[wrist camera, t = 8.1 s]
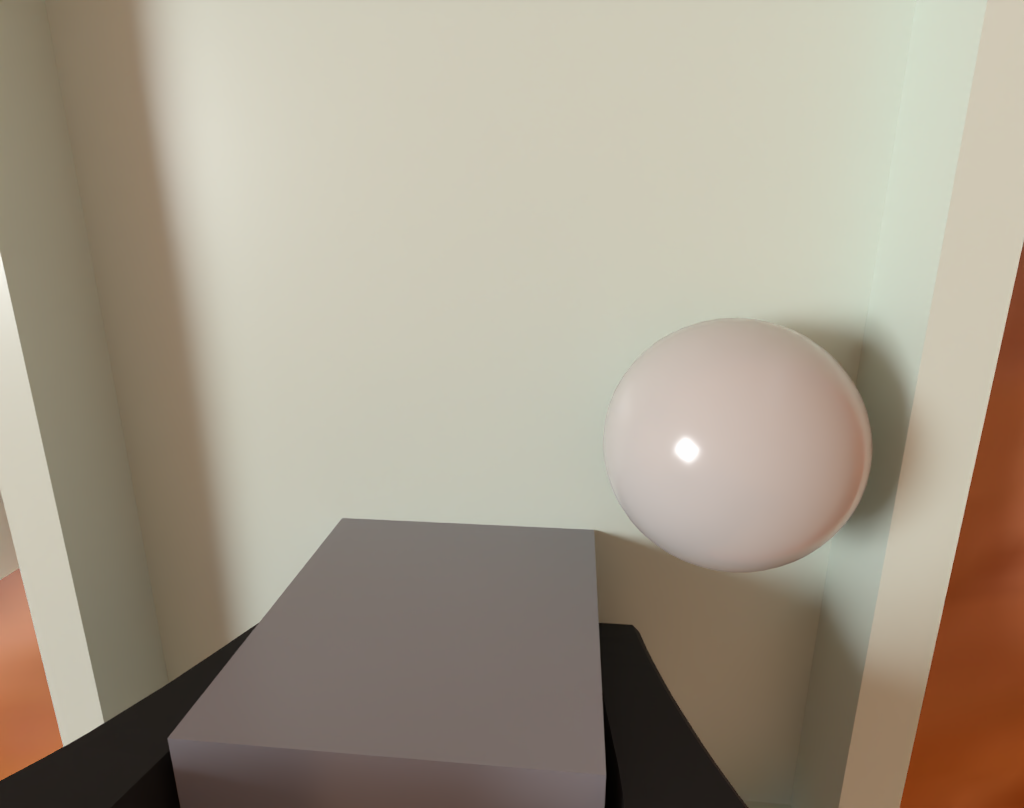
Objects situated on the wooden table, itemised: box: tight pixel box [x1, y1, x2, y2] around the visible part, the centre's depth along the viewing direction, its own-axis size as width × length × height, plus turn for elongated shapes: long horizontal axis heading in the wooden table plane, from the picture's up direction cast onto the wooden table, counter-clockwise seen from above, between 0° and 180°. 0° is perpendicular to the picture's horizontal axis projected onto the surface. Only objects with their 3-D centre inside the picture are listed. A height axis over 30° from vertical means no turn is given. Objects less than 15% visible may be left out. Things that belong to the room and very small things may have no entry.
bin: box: [0, 0, 1024, 808], centre depth 9 cm, size 16×13×2 cm
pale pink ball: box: [603, 317, 873, 573], centre depth 8 cm, size 3×3×3 cm
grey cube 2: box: [167, 518, 606, 808], centre depth 8 cm, size 4×4×4 cm
